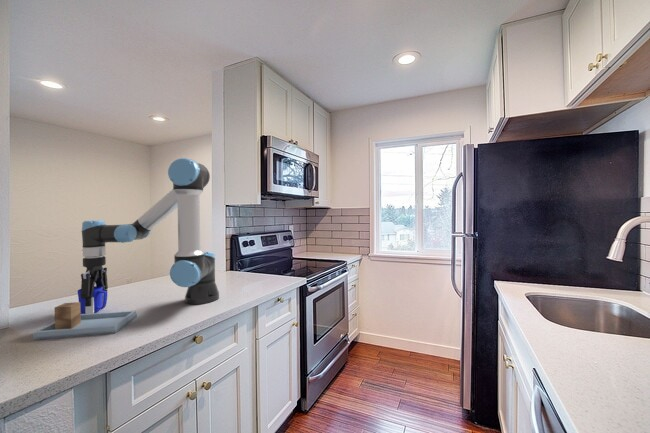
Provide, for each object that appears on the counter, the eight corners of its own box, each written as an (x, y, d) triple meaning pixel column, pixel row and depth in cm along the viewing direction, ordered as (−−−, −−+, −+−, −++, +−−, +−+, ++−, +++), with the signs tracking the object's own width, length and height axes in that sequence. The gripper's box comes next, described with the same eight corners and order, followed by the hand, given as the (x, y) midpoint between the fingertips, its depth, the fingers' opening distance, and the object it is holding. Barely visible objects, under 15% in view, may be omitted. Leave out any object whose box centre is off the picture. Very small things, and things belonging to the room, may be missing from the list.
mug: (97, 316, 113) (96, 292, 113) (72, 315, 115) (72, 290, 115) (115, 309, 121) (115, 286, 121) (92, 308, 123) (92, 285, 123)
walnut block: (80, 323, 104) (80, 302, 104) (71, 328, 99) (70, 306, 99) (65, 324, 103) (64, 303, 103) (55, 330, 98) (54, 307, 98)
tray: (136, 316, 113) (136, 310, 113) (115, 333, 97) (115, 326, 97) (67, 321, 108) (67, 315, 108) (33, 340, 92) (33, 332, 92)
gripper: (98, 253, 127) (99, 303, 128) (67, 261, 108) (68, 319, 108) (116, 253, 129) (117, 302, 129) (89, 260, 109) (90, 318, 110)
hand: (95, 310), depth 119 cm, fingers closed on mug, 7 cm apart
